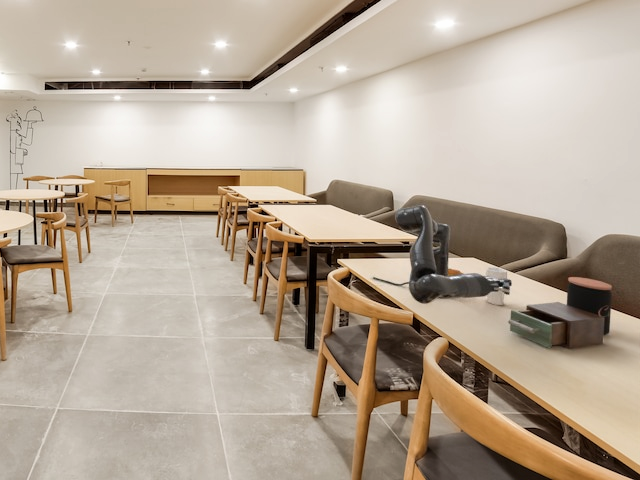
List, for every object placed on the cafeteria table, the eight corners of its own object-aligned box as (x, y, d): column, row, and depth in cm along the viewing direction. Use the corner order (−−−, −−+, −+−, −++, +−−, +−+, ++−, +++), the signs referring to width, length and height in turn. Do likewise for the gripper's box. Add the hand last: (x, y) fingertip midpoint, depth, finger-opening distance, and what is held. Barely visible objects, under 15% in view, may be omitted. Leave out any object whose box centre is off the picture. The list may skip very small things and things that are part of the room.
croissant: (428, 285, 184) (427, 270, 183) (445, 276, 190) (444, 262, 189) (461, 295, 170) (460, 279, 170) (479, 285, 177) (478, 270, 176)
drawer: (538, 349, 120) (540, 326, 120) (500, 331, 131) (501, 310, 131) (580, 343, 124) (582, 321, 124) (540, 327, 135) (541, 306, 135)
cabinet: (569, 348, 122) (570, 321, 122) (525, 330, 135) (526, 305, 134) (603, 344, 125) (604, 317, 125) (556, 326, 138) (558, 301, 137)
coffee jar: (604, 339, 129) (607, 289, 128) (561, 325, 138) (563, 279, 138) (613, 332, 134) (616, 284, 133) (571, 319, 143) (573, 275, 142)
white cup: (509, 307, 154) (511, 272, 154) (491, 305, 155) (492, 271, 155) (498, 300, 161) (499, 267, 160) (480, 299, 162) (482, 266, 162)
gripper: (490, 281, 114) (532, 278, 117) (449, 268, 127) (488, 265, 130) (489, 305, 114) (531, 301, 118) (448, 288, 127) (487, 285, 131)
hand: (508, 282), depth 124 cm, fingers closed
